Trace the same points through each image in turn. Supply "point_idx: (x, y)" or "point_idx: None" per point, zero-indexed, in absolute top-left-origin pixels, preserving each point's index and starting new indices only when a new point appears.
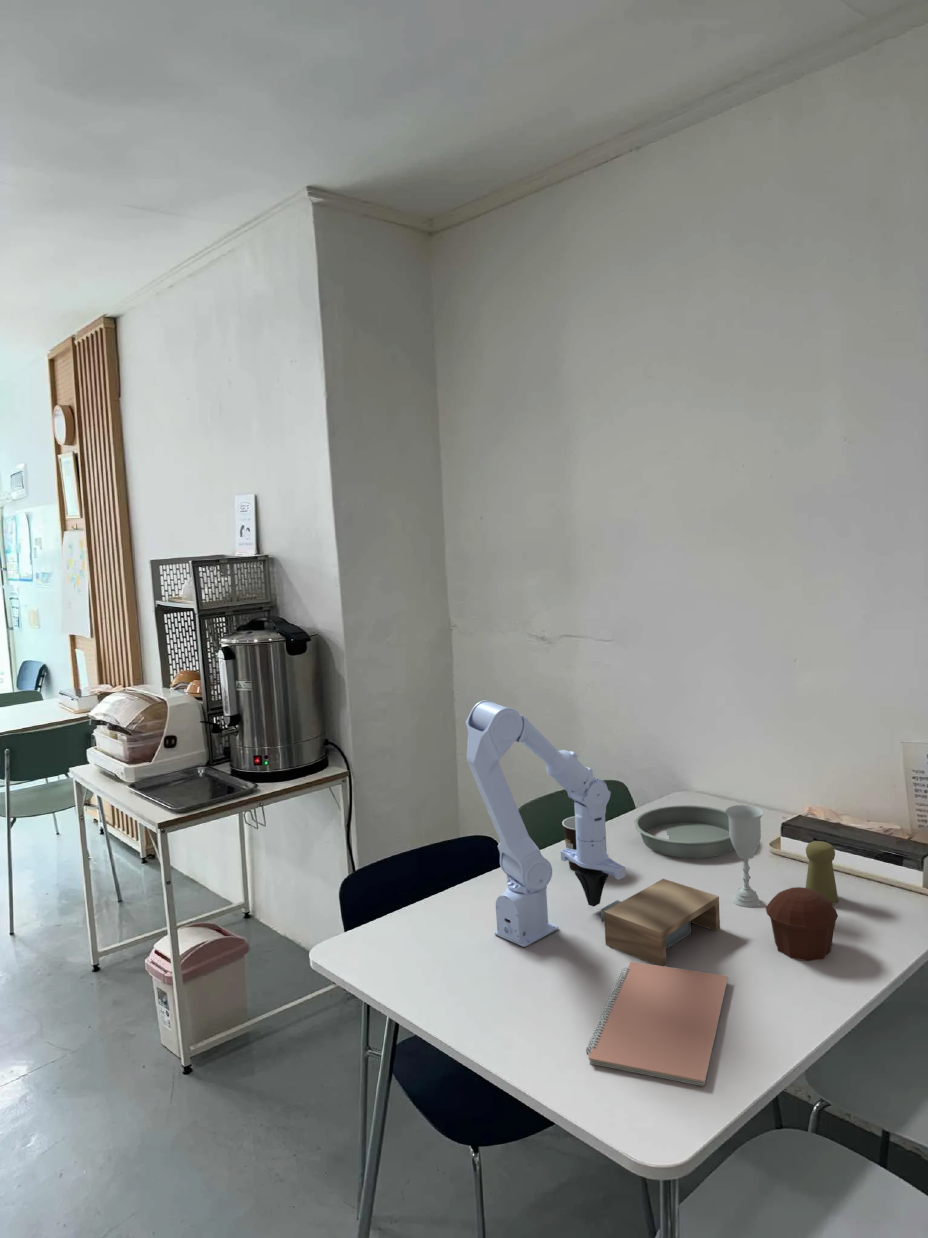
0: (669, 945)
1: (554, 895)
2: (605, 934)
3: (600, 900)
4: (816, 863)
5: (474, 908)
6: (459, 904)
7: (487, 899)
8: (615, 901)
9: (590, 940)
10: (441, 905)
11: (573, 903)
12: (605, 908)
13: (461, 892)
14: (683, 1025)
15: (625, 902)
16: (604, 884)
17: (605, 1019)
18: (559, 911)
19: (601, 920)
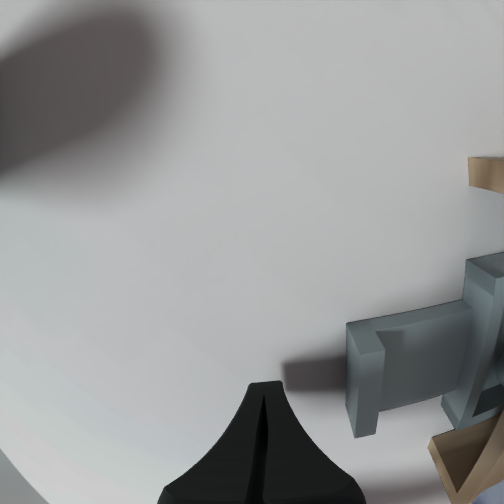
0: None
1: (76, 377)
2: (437, 467)
3: (282, 387)
4: None
5: (79, 489)
6: (55, 485)
7: (47, 459)
8: (361, 367)
9: (384, 462)
10: (52, 493)
11: (161, 384)
12: (366, 426)
13: (10, 452)
14: None
15: (501, 466)
16: (309, 438)
17: None
18: (187, 439)
19: (346, 407)
